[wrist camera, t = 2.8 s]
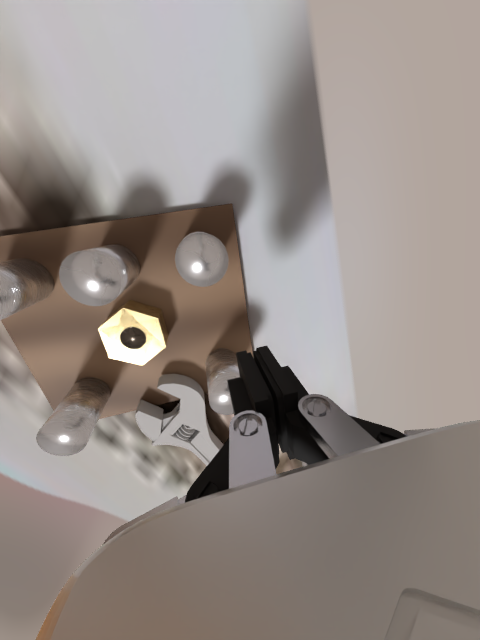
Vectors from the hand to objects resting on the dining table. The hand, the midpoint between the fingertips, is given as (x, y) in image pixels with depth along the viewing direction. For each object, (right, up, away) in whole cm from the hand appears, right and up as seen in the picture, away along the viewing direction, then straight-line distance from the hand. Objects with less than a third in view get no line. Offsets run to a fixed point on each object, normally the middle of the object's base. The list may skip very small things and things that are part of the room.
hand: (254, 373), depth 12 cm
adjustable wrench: (-4, -12, +14) cm, 19 cm away
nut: (-9, +2, +7) cm, 11 cm away
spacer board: (-9, +2, +7) cm, 12 cm away
